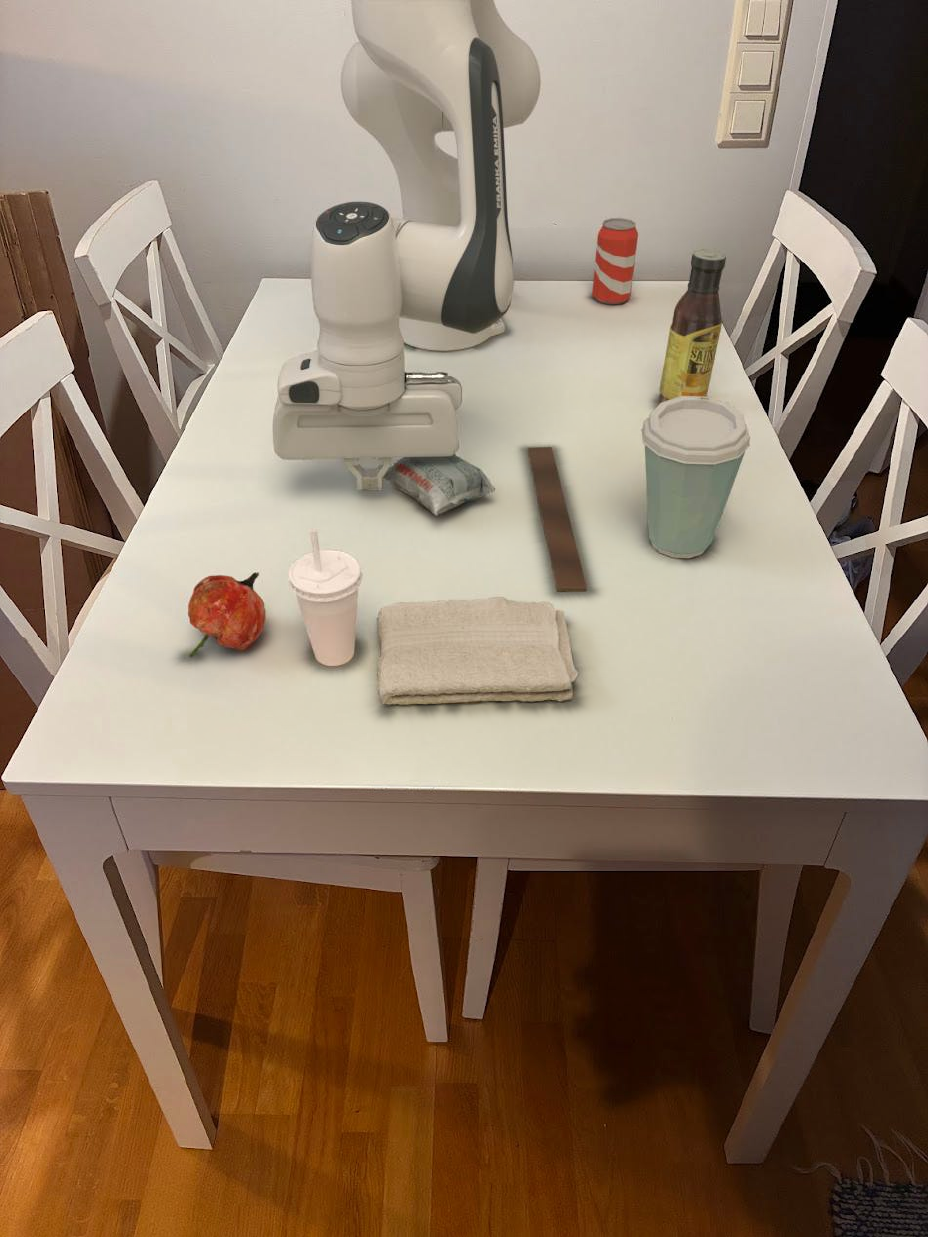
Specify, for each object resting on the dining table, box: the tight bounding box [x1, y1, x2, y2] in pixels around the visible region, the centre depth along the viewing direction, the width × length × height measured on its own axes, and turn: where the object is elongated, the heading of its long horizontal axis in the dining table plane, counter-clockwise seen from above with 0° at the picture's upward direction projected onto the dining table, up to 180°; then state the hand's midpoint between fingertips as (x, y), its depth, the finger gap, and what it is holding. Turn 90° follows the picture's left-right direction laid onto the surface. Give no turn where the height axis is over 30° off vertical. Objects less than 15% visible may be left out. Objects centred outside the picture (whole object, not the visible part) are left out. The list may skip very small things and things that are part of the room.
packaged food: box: [382, 453, 496, 517], centre depth 106 cm, size 9×12×5 cm
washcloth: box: [376, 596, 580, 706], centre depth 85 cm, size 12×18×3 cm, turn 94°
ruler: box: [526, 446, 588, 592], centre depth 105 cm, size 28×3×1 cm, turn 3°
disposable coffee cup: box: [640, 396, 751, 559], centre depth 96 cm, size 11×11×15 cm
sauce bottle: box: [658, 249, 727, 404], centre depth 118 cm, size 6×6×20 cm
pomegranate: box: [187, 572, 267, 658], centre depth 86 cm, size 7×7×10 cm
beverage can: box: [591, 217, 639, 305], centre depth 149 cm, size 6×6×12 cm
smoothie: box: [288, 528, 363, 667], centre depth 83 cm, size 6×6×14 cm
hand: (370, 487), depth 106 cm, fingers closed
